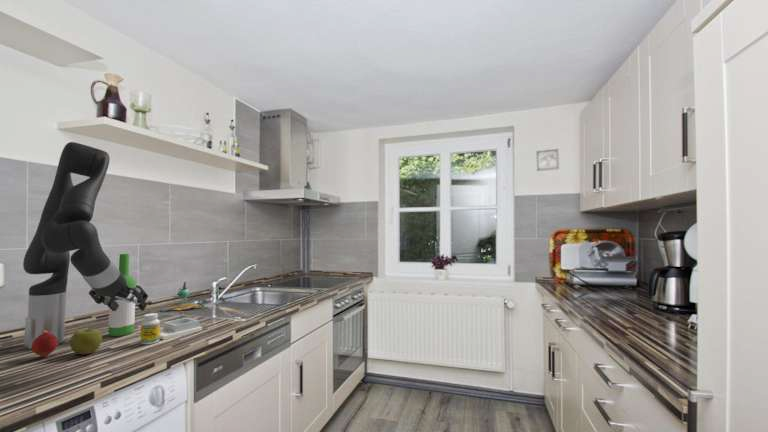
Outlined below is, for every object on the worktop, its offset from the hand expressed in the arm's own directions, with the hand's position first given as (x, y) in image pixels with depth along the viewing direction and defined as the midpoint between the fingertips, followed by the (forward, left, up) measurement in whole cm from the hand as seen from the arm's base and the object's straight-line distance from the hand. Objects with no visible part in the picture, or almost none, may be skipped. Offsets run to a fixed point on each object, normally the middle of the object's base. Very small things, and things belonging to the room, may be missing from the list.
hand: (130, 308), depth 109 cm
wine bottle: (+8, +26, -14) cm, 31 cm away
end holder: (+20, +11, -14) cm, 27 cm away
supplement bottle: (+9, +6, -14) cm, 18 cm away
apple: (-7, +11, -14) cm, 20 cm away
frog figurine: (+44, +49, -14) cm, 68 cm away
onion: (-15, +18, -14) cm, 28 cm away
